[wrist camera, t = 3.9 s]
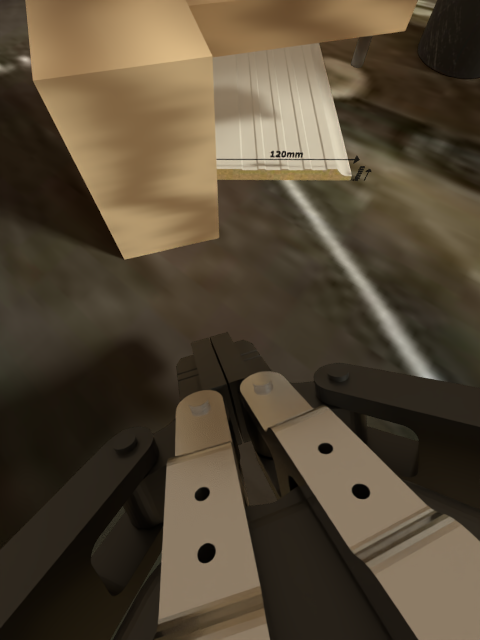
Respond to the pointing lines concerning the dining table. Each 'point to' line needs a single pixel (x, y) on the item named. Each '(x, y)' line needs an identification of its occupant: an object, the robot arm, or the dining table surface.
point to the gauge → (167, 95)
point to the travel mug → (453, 39)
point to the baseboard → (277, 117)
